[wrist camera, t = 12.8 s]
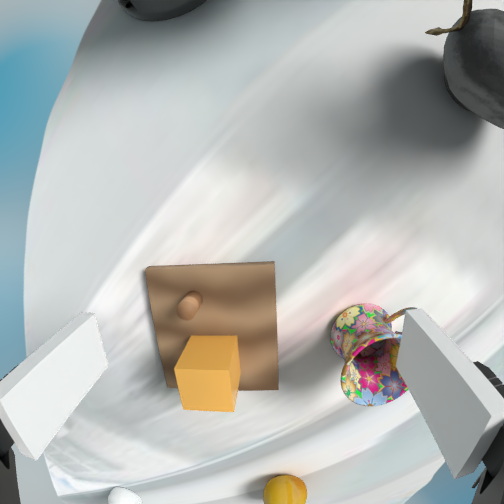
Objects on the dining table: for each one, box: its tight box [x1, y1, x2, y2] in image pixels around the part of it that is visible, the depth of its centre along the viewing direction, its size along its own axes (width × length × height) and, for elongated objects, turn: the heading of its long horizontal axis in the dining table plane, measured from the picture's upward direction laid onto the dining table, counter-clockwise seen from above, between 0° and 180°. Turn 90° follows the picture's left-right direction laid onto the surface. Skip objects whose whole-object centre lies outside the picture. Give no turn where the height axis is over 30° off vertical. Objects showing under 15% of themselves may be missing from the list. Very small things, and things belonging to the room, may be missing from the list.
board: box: [145, 261, 279, 390], centre depth 36 cm, size 18×16×8 cm
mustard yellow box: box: [174, 336, 241, 412], centre depth 36 cm, size 6×6×8 cm
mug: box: [331, 304, 417, 406], centre depth 34 cm, size 12×9×11 cm
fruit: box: [263, 475, 307, 504], centre depth 43 cm, size 9×8×8 cm
